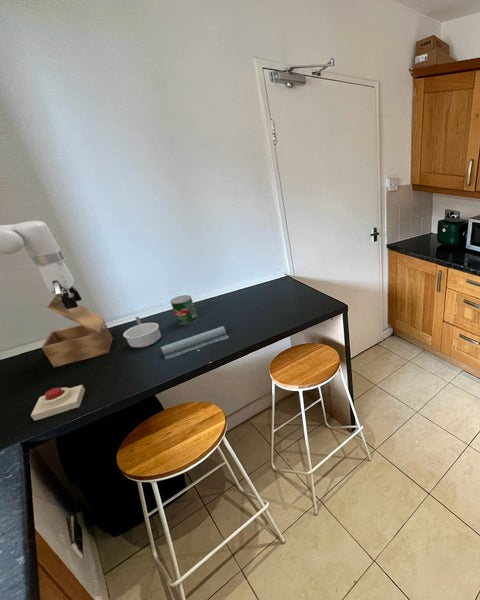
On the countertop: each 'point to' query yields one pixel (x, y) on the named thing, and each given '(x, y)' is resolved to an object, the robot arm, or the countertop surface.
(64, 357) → the box
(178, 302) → the canned tomato
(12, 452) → the countertop surface
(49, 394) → the button
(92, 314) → the lid
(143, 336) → the saucepan
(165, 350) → the aluminum foil
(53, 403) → the switch block
